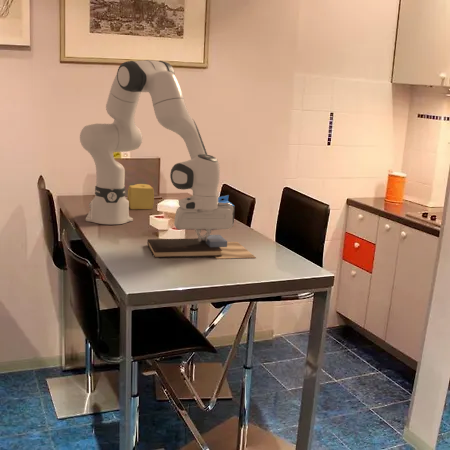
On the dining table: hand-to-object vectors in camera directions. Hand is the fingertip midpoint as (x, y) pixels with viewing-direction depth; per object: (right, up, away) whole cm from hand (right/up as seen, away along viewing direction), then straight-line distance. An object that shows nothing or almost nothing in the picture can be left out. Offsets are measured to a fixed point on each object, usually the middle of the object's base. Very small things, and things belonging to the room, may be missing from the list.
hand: (202, 241), depth 211 cm
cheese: (-31, +14, +65) cm, 73 cm away
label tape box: (+7, +5, +40) cm, 41 cm away
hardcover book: (-7, -3, -1) cm, 7 cm away
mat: (+9, -3, +4) cm, 10 cm away
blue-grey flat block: (+4, -1, +1) cm, 5 cm away
